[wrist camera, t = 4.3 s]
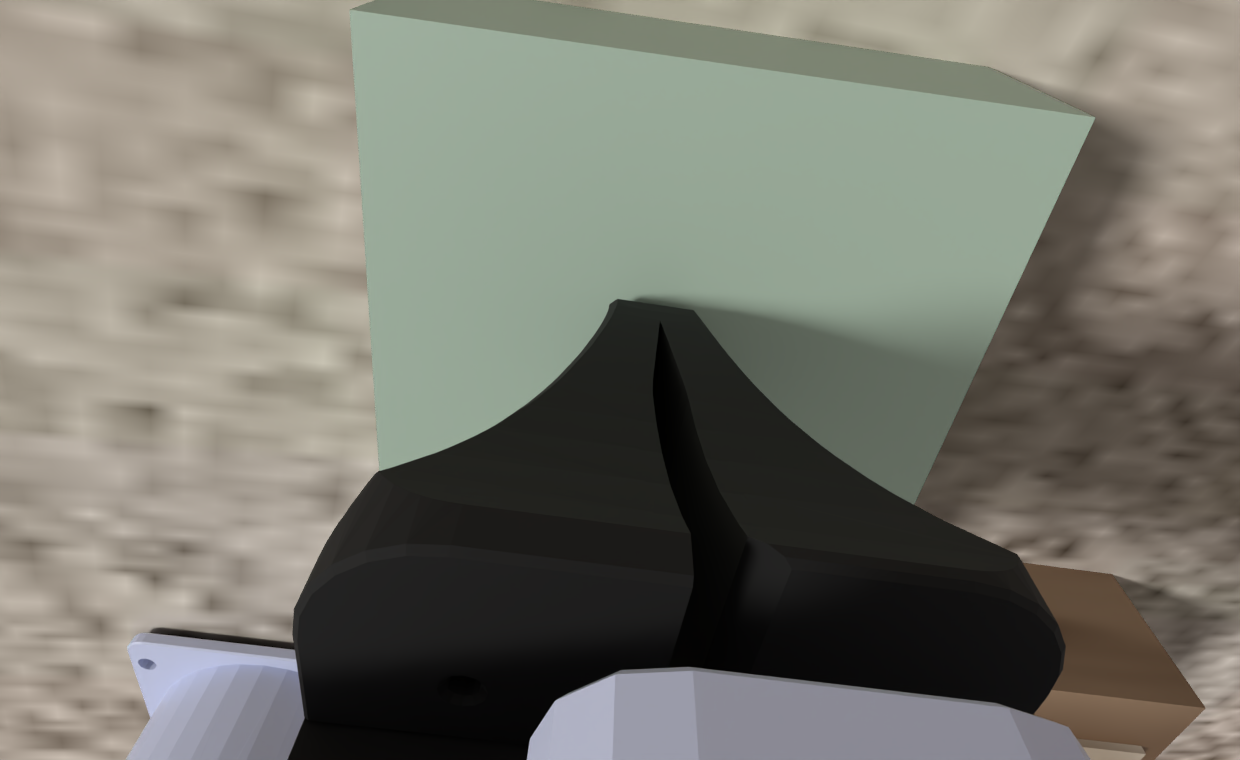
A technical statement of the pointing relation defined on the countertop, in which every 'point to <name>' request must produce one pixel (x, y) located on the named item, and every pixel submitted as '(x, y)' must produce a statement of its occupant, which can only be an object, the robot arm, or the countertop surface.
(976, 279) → the sage block
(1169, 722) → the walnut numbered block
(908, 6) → the countertop surface
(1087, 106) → the countertop surface
